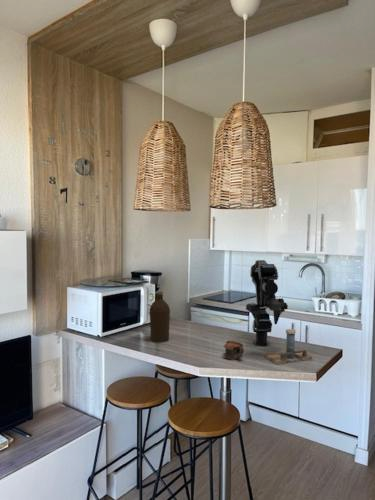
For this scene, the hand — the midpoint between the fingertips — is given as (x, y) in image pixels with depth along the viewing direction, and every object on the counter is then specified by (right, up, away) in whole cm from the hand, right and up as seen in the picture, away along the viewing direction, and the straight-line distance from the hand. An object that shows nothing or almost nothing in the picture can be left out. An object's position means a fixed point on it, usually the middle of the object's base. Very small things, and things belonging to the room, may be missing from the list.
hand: (266, 325), depth 169 cm
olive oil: (-51, -12, +23) cm, 57 cm away
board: (+8, -13, -7) cm, 17 cm away
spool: (+8, -13, -8) cm, 18 cm away
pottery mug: (-16, -14, -5) cm, 21 cm away
